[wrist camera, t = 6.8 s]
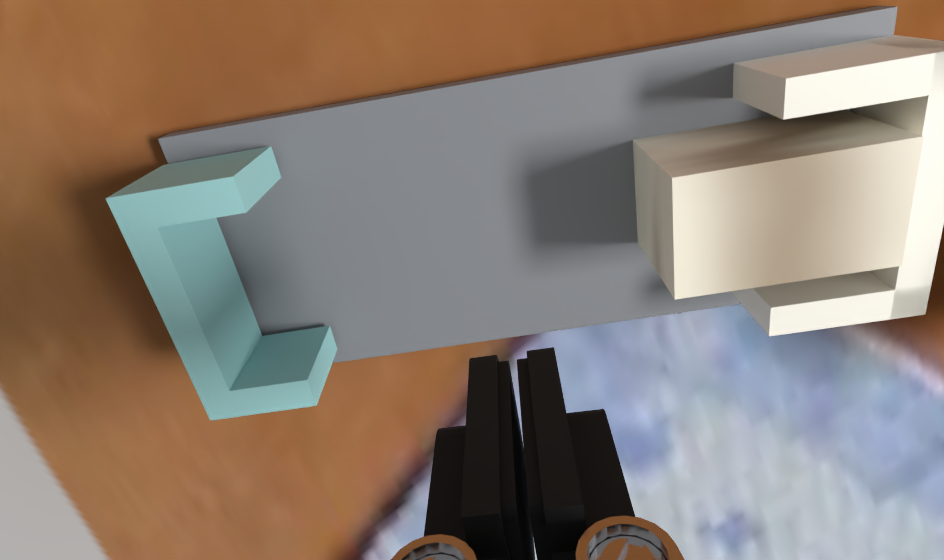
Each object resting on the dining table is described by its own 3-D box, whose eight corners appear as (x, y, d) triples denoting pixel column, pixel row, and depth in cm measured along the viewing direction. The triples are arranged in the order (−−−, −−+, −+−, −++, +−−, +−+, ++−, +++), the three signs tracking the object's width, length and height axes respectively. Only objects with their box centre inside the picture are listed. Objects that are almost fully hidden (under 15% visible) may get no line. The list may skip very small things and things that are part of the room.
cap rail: (879, 5, 17) (986, 11, 14) (845, 276, 21) (920, 335, 18) (169, 132, 19) (98, 167, 15) (261, 362, 23) (222, 432, 19)
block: (832, 105, 18) (923, 136, 14) (821, 213, 19) (901, 265, 16) (632, 139, 18) (672, 177, 15) (637, 242, 20) (674, 299, 16)
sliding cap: (271, 145, 18) (232, 176, 15) (337, 348, 21) (316, 405, 18) (163, 164, 18) (105, 198, 15) (245, 362, 22) (210, 420, 19)
